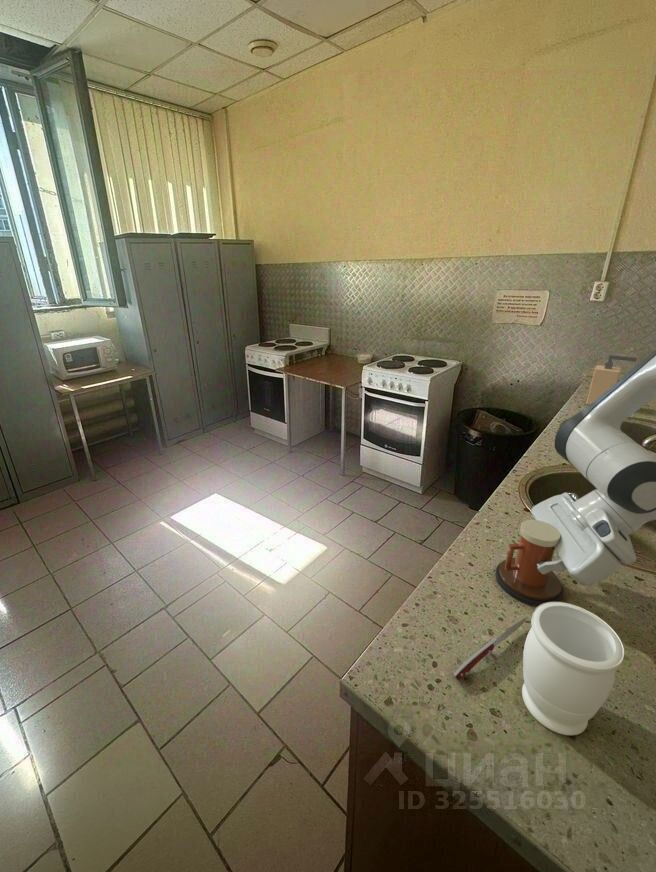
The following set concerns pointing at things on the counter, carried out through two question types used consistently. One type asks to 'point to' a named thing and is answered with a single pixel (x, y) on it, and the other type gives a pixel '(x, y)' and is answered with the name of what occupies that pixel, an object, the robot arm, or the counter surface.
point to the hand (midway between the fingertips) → (531, 556)
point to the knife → (484, 651)
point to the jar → (568, 666)
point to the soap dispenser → (605, 377)
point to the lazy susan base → (523, 598)
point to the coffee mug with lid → (532, 562)
